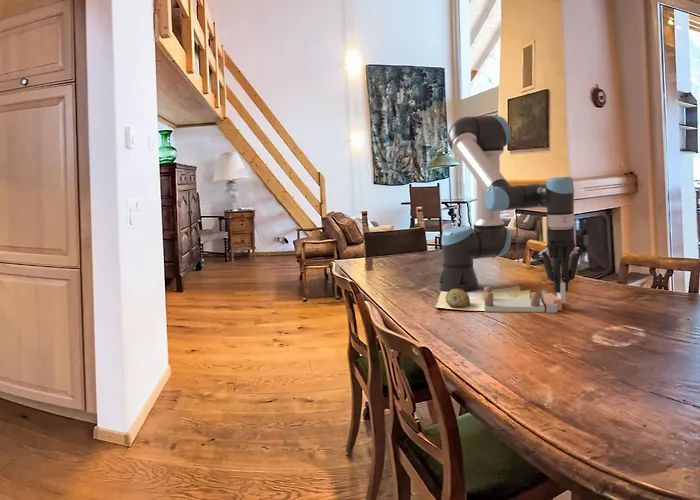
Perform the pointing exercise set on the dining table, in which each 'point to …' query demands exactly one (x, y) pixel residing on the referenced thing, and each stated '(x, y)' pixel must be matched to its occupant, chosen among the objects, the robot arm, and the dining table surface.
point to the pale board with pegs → (515, 303)
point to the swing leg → (551, 299)
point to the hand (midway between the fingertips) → (561, 302)
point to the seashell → (457, 298)
